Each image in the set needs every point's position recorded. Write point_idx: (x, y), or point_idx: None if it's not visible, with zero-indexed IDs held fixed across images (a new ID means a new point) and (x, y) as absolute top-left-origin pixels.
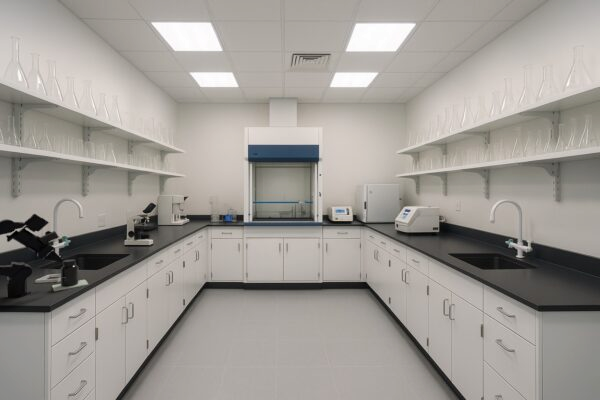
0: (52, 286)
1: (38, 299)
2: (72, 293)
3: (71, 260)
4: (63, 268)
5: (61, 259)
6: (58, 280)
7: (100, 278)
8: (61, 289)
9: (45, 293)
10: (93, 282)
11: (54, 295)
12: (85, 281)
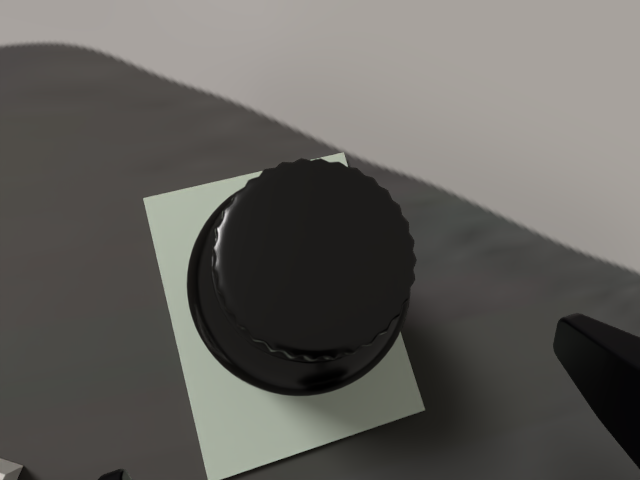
0: (264, 464)
1: (619, 475)
2: (556, 244)
3: (327, 218)
4: (391, 341)
5: (622, 337)
6: (9, 466)
7: (149, 76)
8: (405, 353)
9: (457, 470)
10: (276, 124)
11: (555, 373)
12: (235, 184)
